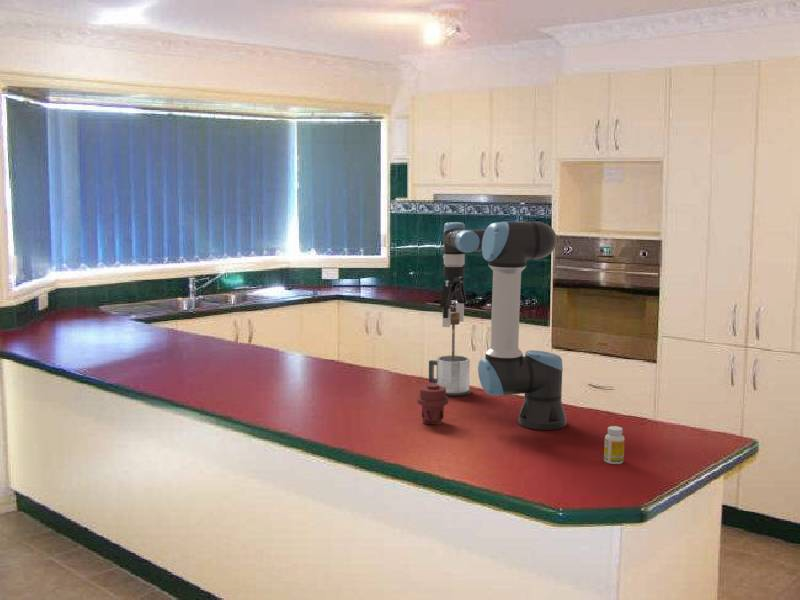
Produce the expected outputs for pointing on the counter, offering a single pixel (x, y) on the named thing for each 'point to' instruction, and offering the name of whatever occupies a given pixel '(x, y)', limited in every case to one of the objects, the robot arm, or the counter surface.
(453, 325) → the plunger
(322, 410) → the counter surface
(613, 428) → the supplement bottle
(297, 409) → the counter surface
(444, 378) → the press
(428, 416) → the mechanical component
